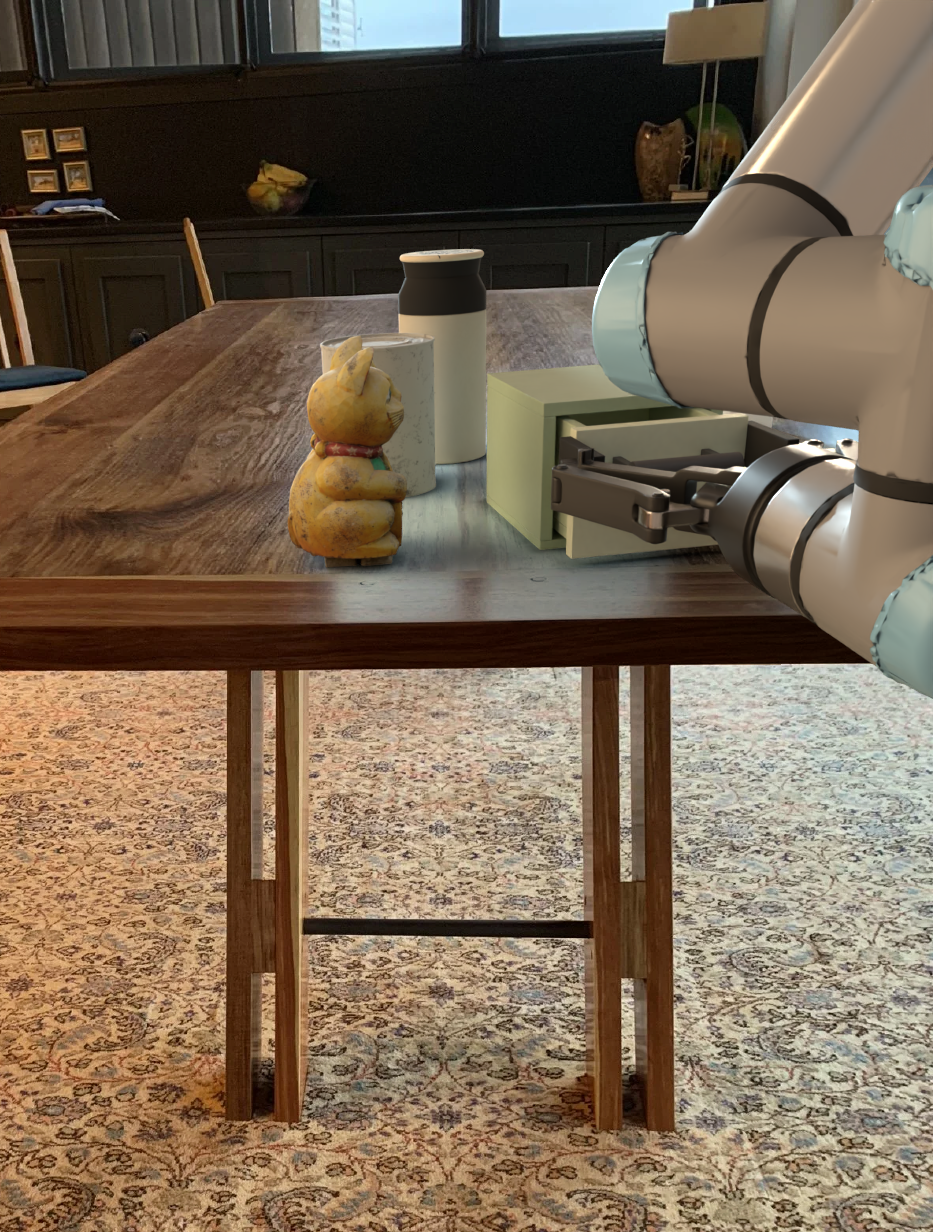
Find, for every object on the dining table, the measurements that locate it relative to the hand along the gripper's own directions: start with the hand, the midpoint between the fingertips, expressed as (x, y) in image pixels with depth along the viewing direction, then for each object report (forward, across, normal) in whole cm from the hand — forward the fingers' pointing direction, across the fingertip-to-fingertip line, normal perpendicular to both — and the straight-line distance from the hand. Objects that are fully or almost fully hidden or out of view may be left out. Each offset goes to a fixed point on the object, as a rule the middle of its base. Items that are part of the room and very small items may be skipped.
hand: (654, 449), depth 79 cm
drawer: (+3, 0, -7) cm, 7 cm away
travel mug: (+38, -6, -8) cm, 39 cm away
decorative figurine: (+6, -20, -8) cm, 22 cm away
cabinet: (+11, 0, -8) cm, 14 cm away
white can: (+27, -14, -8) cm, 31 cm away
